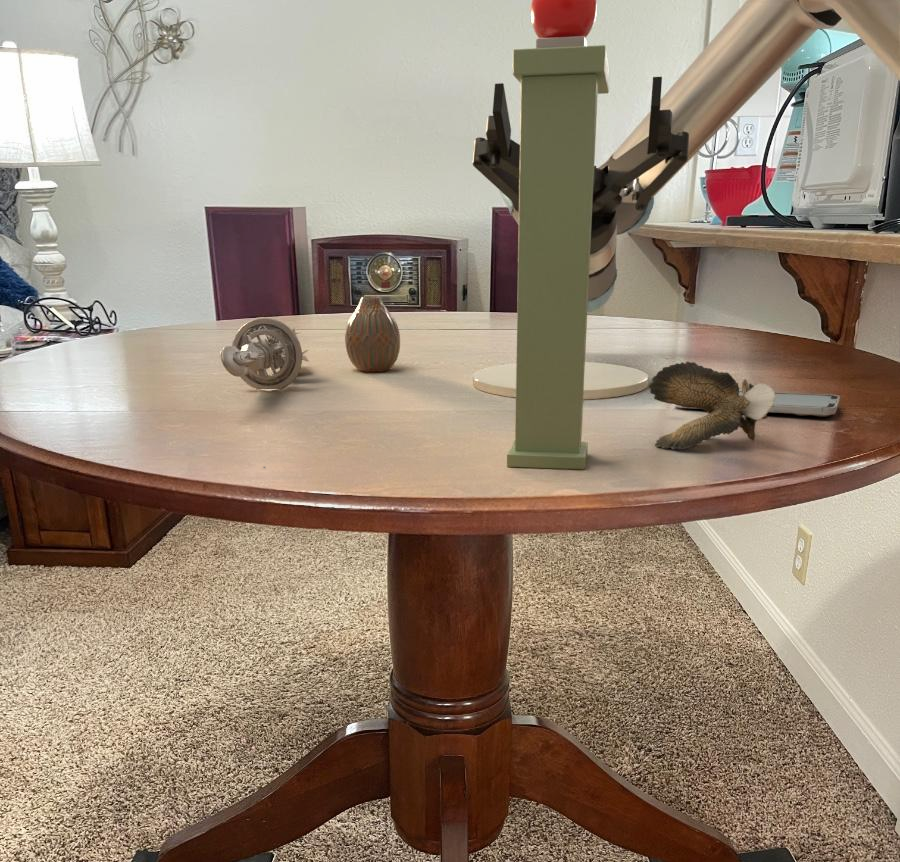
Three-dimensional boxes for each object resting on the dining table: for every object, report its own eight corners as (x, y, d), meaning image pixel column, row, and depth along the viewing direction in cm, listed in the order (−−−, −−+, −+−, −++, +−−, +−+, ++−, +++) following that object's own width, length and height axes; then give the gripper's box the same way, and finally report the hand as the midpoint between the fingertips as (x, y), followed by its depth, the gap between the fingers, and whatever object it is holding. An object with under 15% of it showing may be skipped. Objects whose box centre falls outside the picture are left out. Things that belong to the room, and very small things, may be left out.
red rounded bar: (551, 88, 77) (553, 24, 75) (602, 86, 76) (606, 21, 74) (526, 50, 59) (528, -35, 57) (593, 47, 58) (597, -39, 56)
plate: (660, 373, 108) (660, 365, 107) (630, 404, 90) (631, 394, 90) (502, 366, 114) (503, 358, 114) (447, 394, 97) (447, 385, 97)
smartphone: (687, 388, 94) (840, 394, 88) (686, 397, 94) (839, 404, 88) (672, 400, 88) (835, 408, 82) (671, 410, 88) (834, 419, 82)
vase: (380, 375, 109) (376, 300, 105) (335, 371, 112) (331, 298, 109) (411, 367, 114) (409, 295, 111) (368, 363, 117) (364, 294, 114)
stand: (524, 431, 80) (531, 74, 69) (591, 433, 79) (609, 71, 68) (506, 466, 69) (512, 47, 58) (584, 469, 68) (605, 43, 57)
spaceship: (167, 338, 81) (244, 303, 80) (254, 332, 115) (309, 307, 114) (207, 419, 84) (282, 386, 82) (281, 390, 117) (336, 366, 116)
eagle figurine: (722, 413, 80) (634, 401, 78) (766, 352, 75) (672, 336, 72) (748, 476, 76) (656, 465, 74) (796, 416, 71) (699, 402, 68)
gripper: (697, 256, 95) (723, 130, 74) (467, 258, 99) (431, 139, 78) (701, 190, 96) (728, 47, 75) (472, 195, 100) (438, 61, 79)
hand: (576, 94), depth 77 cm, fingers open, 13 cm apart
